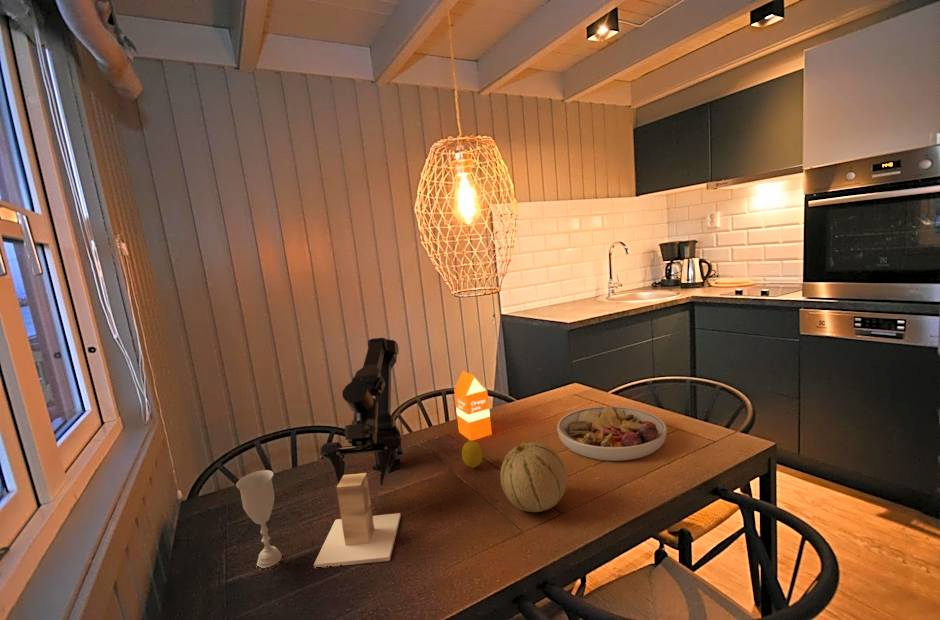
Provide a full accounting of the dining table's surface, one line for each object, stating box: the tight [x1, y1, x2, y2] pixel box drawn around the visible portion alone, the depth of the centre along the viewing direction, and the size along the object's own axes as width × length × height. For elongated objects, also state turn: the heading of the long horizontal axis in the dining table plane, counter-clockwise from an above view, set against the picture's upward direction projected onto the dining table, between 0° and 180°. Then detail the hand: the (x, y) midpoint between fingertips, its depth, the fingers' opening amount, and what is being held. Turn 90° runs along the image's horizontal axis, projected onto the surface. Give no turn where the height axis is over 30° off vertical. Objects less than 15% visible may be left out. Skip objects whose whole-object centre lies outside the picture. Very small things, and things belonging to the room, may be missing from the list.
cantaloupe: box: [500, 441, 568, 513], centre depth 102 cm, size 15×15×15 cm
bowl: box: [556, 405, 667, 462], centre depth 131 cm, size 30×30×8 cm
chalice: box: [235, 469, 283, 568], centre depth 92 cm, size 7×7×18 cm
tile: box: [313, 512, 401, 569], centre depth 97 cm, size 15×15×1 cm
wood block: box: [335, 472, 374, 545], centre depth 96 cm, size 5×5×13 cm
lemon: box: [461, 440, 483, 469], centre depth 123 cm, size 6×6×8 cm
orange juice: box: [453, 370, 493, 441], centre depth 145 cm, size 8×9×20 cm
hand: (361, 486), depth 101 cm, fingers open, 9 cm apart
